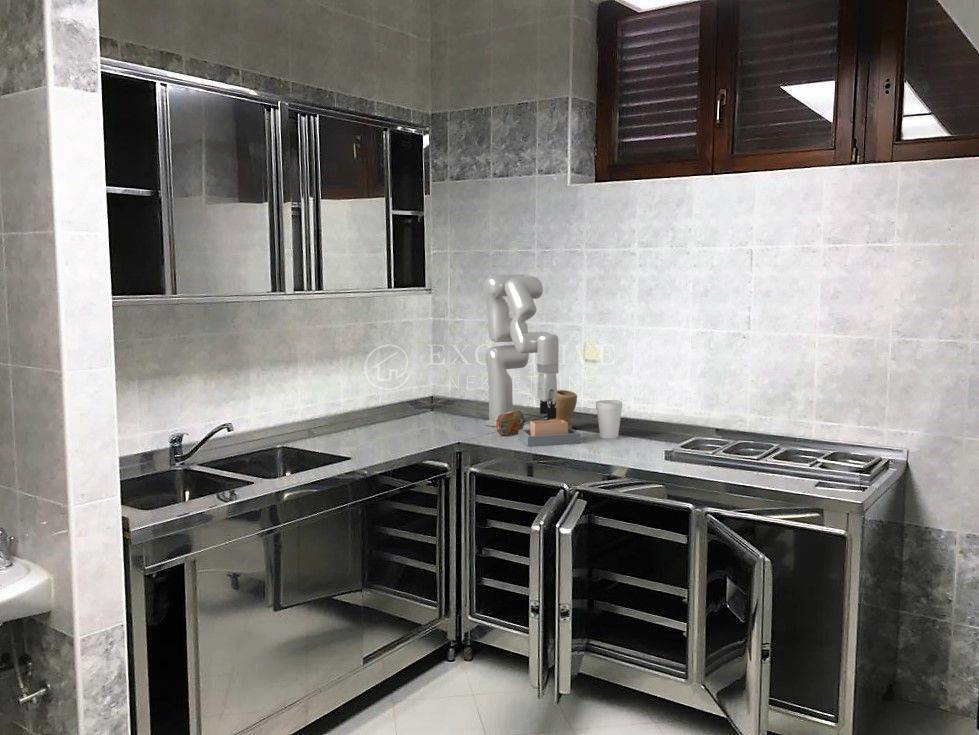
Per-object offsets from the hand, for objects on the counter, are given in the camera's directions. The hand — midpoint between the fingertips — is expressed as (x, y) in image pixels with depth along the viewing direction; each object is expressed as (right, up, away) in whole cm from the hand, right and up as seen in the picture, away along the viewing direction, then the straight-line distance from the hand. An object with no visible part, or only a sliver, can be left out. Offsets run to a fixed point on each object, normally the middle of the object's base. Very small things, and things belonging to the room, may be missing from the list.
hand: (547, 416), depth 310 cm
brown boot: (+7, -6, +25) cm, 27 cm away
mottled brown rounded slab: (-13, -8, +17) cm, 23 cm away
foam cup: (+23, -8, +6) cm, 25 cm away
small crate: (0, -8, 0) cm, 8 cm away
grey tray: (0, -9, 0) cm, 9 cm away
